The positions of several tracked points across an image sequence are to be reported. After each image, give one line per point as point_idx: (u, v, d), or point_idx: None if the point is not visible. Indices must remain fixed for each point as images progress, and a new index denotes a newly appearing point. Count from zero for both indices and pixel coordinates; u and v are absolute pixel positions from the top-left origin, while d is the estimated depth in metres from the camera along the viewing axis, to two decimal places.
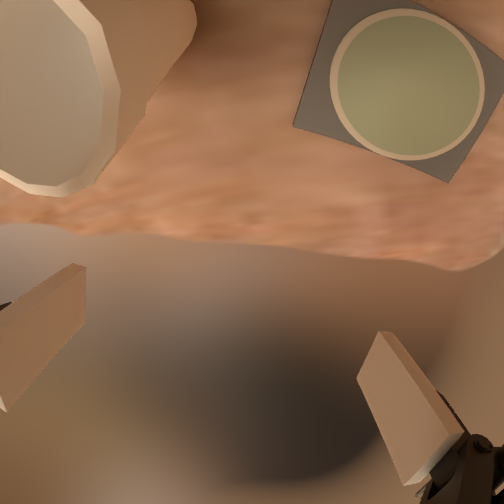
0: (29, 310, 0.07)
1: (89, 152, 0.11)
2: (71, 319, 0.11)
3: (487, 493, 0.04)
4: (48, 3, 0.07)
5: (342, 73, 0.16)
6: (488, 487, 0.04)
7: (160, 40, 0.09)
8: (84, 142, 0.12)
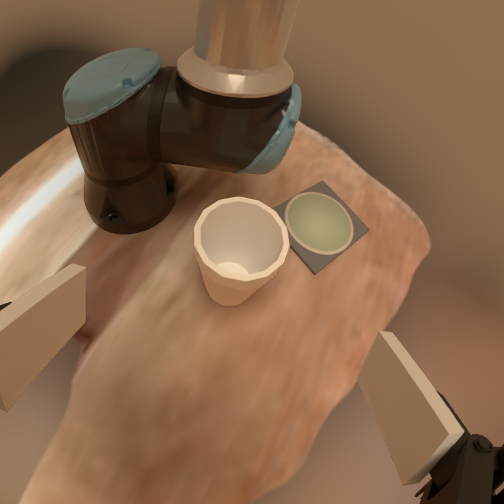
0: (29, 310, 0.07)
1: (276, 256, 0.31)
2: (71, 319, 0.11)
3: (487, 493, 0.04)
4: (206, 244, 0.34)
5: (302, 240, 0.45)
6: (488, 487, 0.04)
7: None
8: None
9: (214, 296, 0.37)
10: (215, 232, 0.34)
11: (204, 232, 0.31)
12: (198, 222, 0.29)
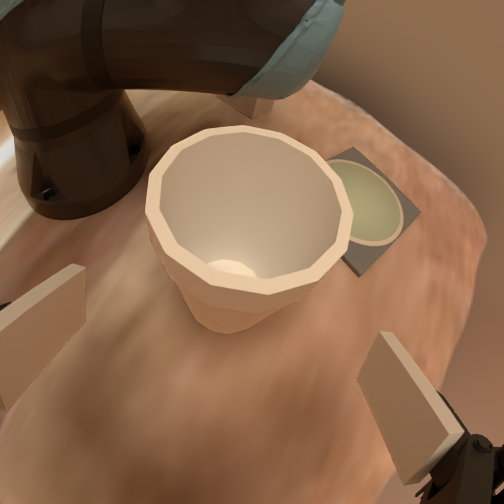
0: (29, 310, 0.07)
1: (324, 238, 0.15)
2: (71, 319, 0.11)
3: (487, 493, 0.04)
4: (180, 222, 0.17)
5: None
6: (488, 487, 0.04)
7: None
8: None
9: (200, 319, 0.20)
10: (198, 199, 0.18)
11: (174, 193, 0.15)
12: (158, 167, 0.13)
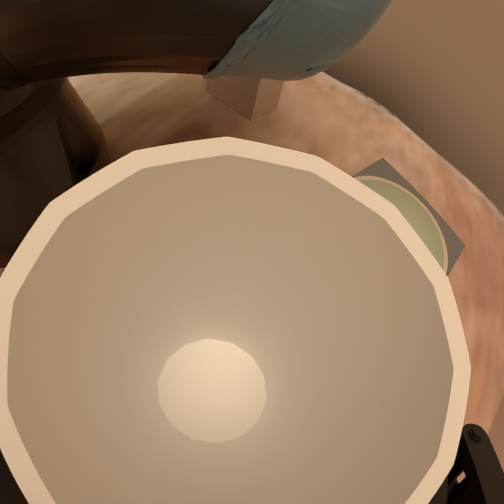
0: None
1: (400, 406, 0.06)
2: None
3: None
4: (111, 334, 0.08)
5: None
6: None
7: None
8: (353, 451, 0.06)
9: None
10: (145, 288, 0.09)
11: (73, 307, 0.06)
12: (10, 272, 0.04)
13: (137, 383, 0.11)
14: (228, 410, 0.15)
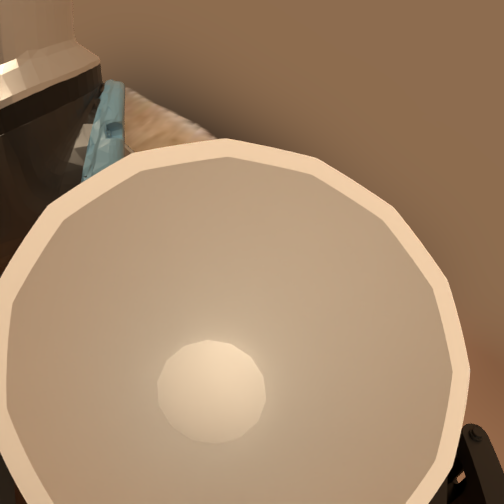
0: None
1: (399, 408, 0.06)
2: None
3: None
4: (111, 336, 0.08)
5: None
6: None
7: None
8: (352, 453, 0.06)
9: None
10: (144, 290, 0.09)
11: (72, 310, 0.06)
12: (9, 275, 0.04)
13: (136, 384, 0.11)
14: (228, 411, 0.15)
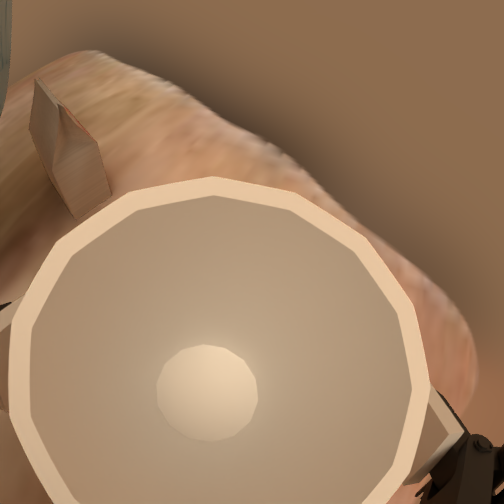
0: None
1: (367, 417, 0.07)
2: None
3: (487, 493, 0.04)
4: (114, 346, 0.09)
5: None
6: (488, 487, 0.04)
7: None
8: (327, 453, 0.07)
9: None
10: (143, 305, 0.10)
11: (81, 328, 0.07)
12: (27, 304, 0.05)
13: (137, 387, 0.12)
14: (222, 411, 0.16)
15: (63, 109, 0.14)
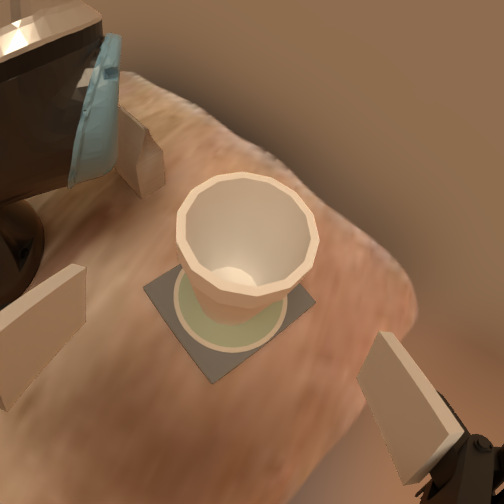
0: (29, 310, 0.07)
1: (299, 256, 0.21)
2: (71, 319, 0.11)
3: (487, 493, 0.04)
4: (196, 242, 0.23)
5: (196, 330, 0.29)
6: (488, 487, 0.04)
7: None
8: None
9: (209, 314, 0.27)
10: (209, 225, 0.24)
11: (192, 223, 0.21)
12: (183, 207, 0.19)
13: None
14: None
15: (147, 131, 0.28)
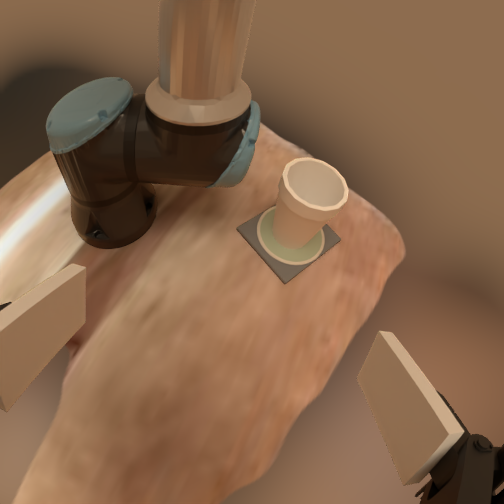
0: (29, 310, 0.07)
1: (339, 199, 0.41)
2: (71, 319, 0.11)
3: (487, 493, 0.04)
4: None
5: (273, 251, 0.48)
6: (488, 487, 0.04)
7: None
8: None
9: (284, 238, 0.47)
10: (288, 185, 0.44)
11: None
12: (284, 172, 0.39)
13: None
14: None
15: None
